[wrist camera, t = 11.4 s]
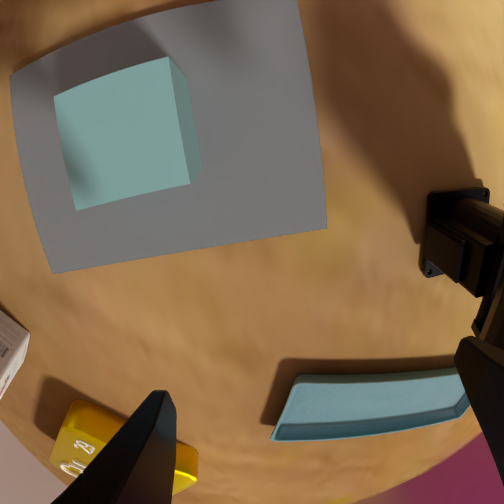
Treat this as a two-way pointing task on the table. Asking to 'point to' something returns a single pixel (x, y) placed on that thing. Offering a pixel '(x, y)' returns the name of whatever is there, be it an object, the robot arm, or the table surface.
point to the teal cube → (128, 133)
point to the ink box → (11, 349)
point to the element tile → (98, 435)
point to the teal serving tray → (369, 404)
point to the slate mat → (207, 132)
